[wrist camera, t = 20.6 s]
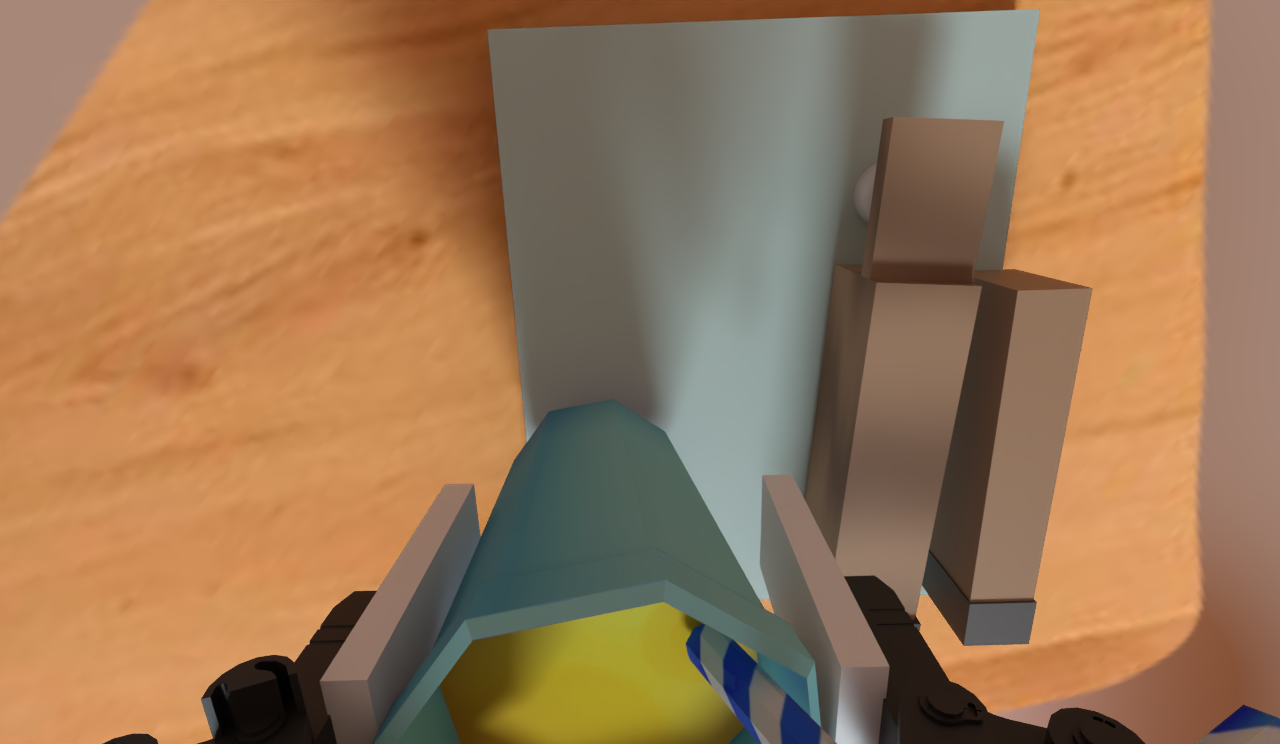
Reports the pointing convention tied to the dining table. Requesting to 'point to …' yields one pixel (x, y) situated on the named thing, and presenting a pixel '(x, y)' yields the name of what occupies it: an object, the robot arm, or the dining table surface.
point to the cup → (620, 613)
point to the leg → (901, 350)
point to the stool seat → (774, 259)
